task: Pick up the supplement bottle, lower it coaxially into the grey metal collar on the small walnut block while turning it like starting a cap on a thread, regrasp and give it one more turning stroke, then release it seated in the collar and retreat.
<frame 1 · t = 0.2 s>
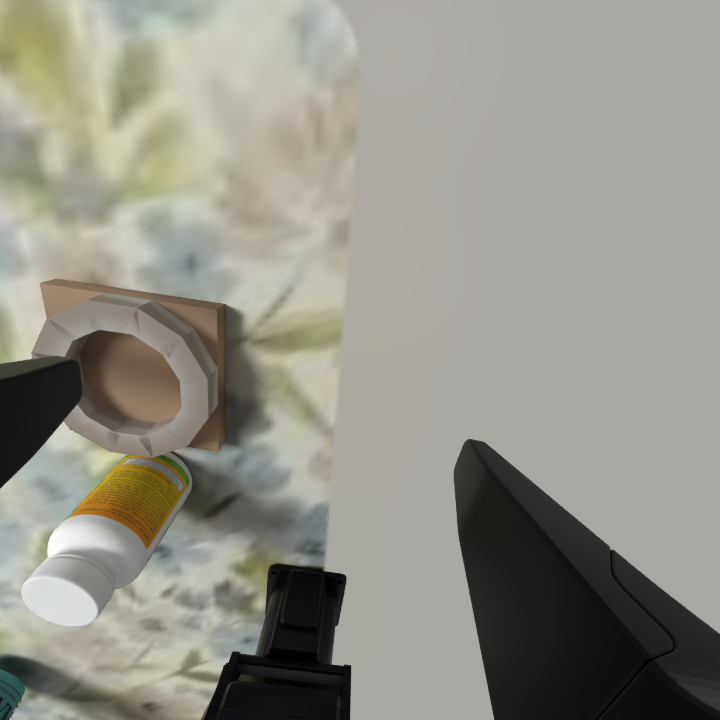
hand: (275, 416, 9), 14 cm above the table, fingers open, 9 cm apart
beverage bottle: (8, 663, 40), on the table
collar block: (147, 366, 25), on the table
supplement bottle: (159, 472, 29), on the table
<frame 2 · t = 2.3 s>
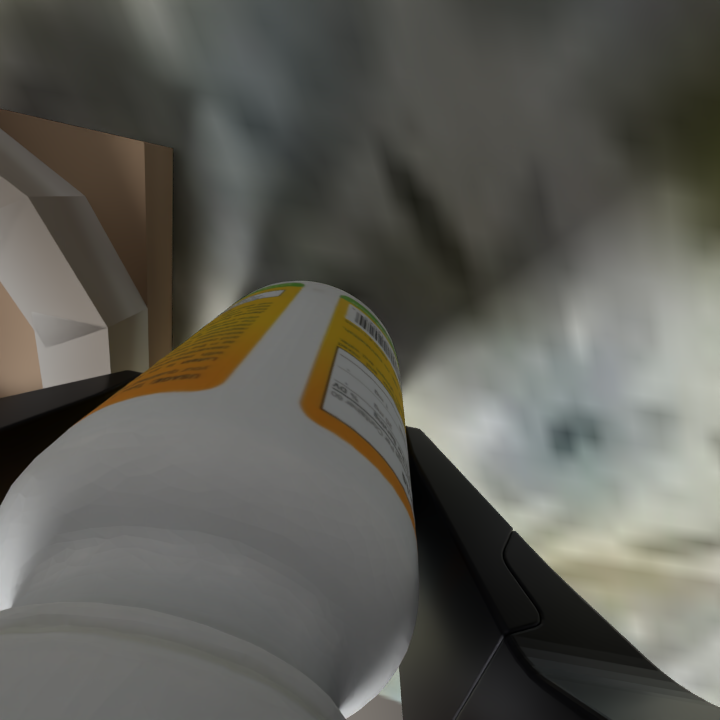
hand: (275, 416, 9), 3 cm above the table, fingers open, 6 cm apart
supplement bottle: (308, 365, 11), on the table, touching gripper
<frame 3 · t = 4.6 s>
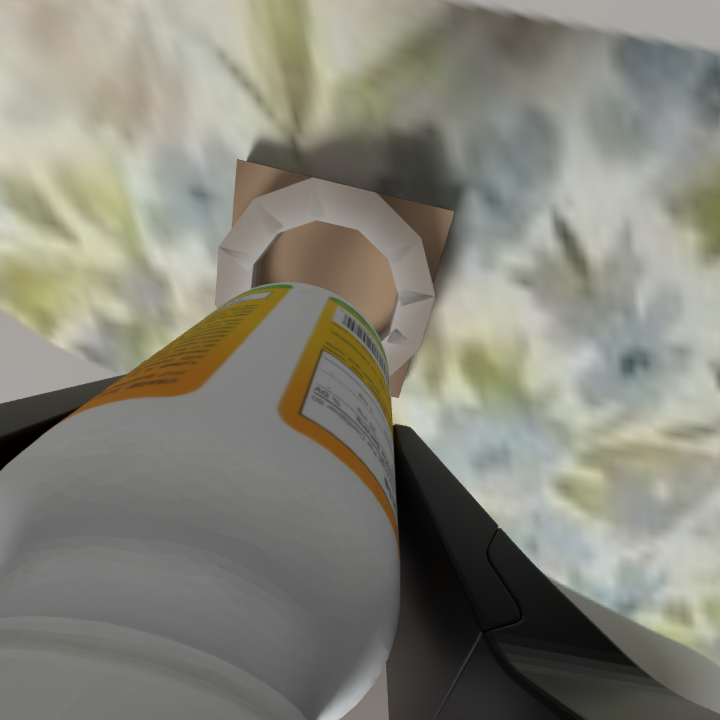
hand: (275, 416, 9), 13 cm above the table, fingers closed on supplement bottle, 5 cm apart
collar block: (330, 287, 20), on the table
supplement bottle: (298, 367, 11), point 10 cm above the table, touching gripper
when the fingers open (4 cm above the table, at t = 6.9 s): supplement bottle stays where it is, resting on collar block.
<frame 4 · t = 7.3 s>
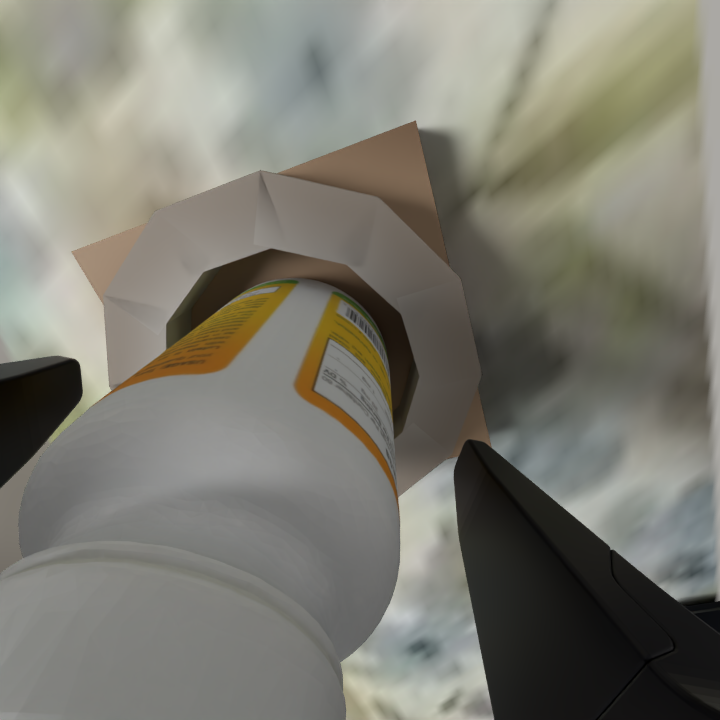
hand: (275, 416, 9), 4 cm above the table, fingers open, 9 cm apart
collar block: (306, 344, 13), on the table
supplement bottle: (303, 358, 12), point 1 cm above the table, touching collar block
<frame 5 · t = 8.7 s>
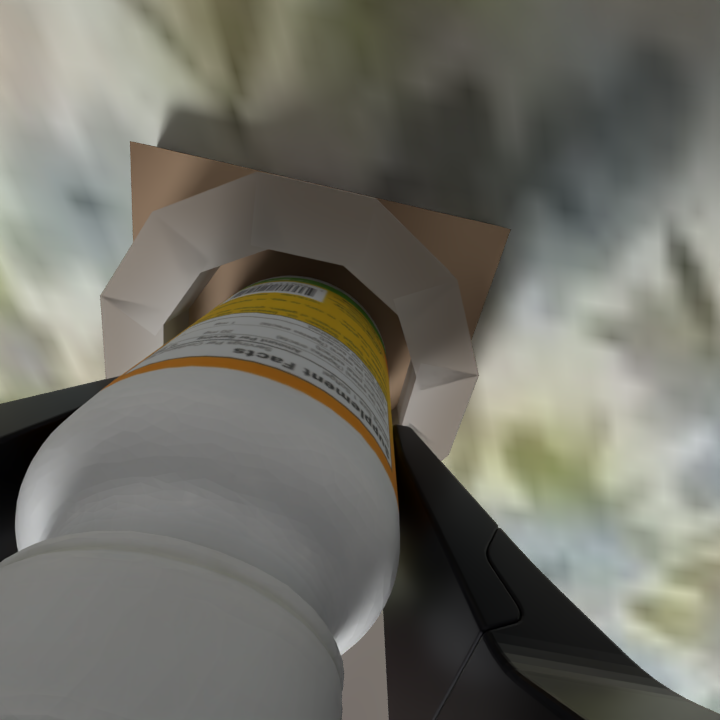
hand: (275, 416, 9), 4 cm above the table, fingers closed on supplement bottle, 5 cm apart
collar block: (304, 345, 13), on the table
supplement bottle: (301, 356, 12), point 1 cm above the table, touching collar block, gripper
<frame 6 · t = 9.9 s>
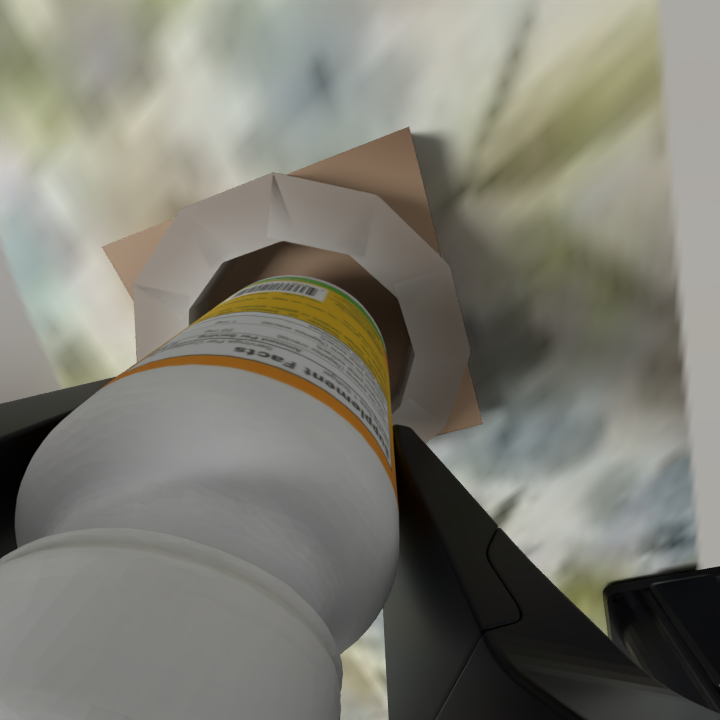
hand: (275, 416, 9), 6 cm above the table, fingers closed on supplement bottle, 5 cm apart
collar block: (312, 330, 14), on the table
supplement bottle: (302, 356, 12), point 2 cm above the table, touching gripper
when the fingers open (5 cm above the table, at t = 10.6 s): supplement bottle stays where it is, resting on collar block.
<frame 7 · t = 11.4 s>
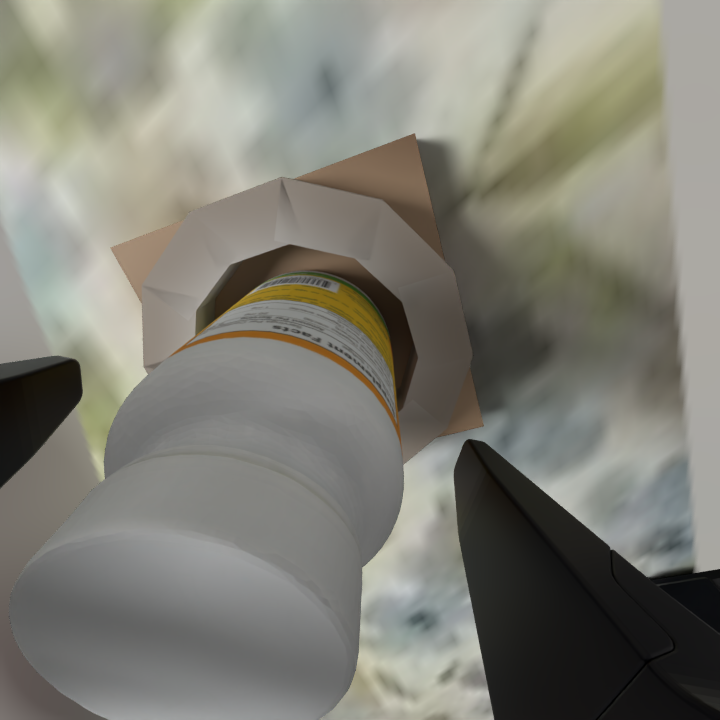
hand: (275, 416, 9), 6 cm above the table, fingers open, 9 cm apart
collar block: (316, 332, 14), on the table
supplement bottle: (314, 343, 13), point 1 cm above the table, touching collar block
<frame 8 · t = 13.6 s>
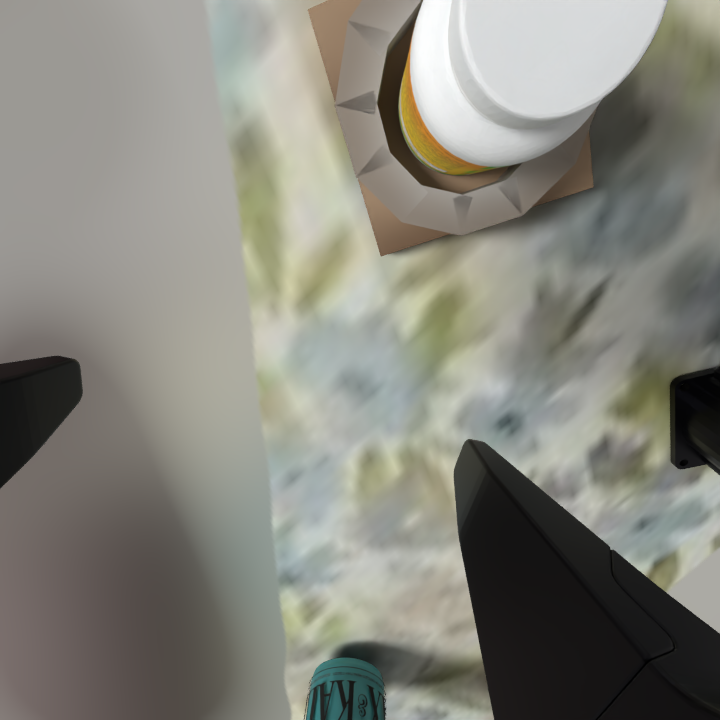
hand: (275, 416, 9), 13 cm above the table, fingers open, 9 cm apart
beverage bottle: (348, 656, 34), on the table
collar block: (454, 109, 17), on the table
supplement bottle: (460, 107, 16), point 1 cm above the table, touching collar block
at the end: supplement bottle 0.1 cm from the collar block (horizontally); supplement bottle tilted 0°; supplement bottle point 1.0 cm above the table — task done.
